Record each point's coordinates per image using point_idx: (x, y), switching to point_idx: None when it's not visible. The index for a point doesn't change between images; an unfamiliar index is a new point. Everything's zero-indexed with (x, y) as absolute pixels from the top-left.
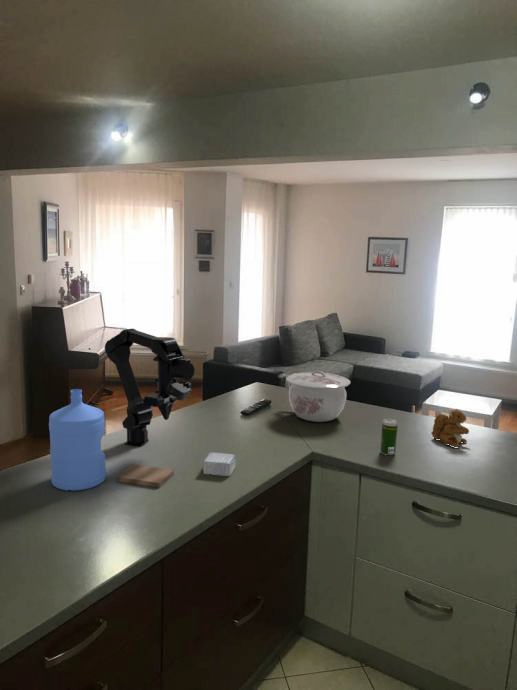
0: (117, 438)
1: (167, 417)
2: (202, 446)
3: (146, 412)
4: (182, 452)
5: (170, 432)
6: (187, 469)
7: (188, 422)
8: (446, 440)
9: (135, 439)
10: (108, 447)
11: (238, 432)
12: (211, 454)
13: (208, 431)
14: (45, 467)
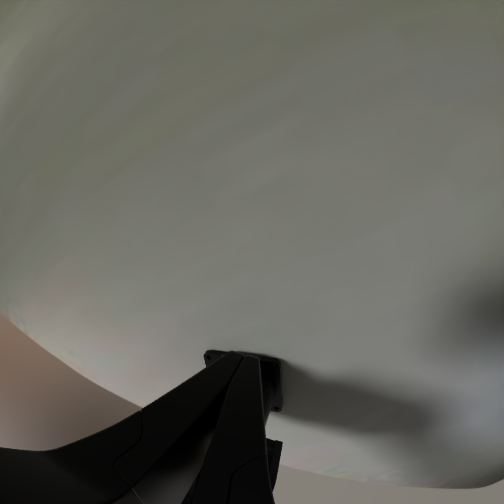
0: None
1: (246, 372)
2: (147, 91)
3: (195, 479)
4: (264, 142)
5: (98, 299)
6: (466, 31)
7: (24, 273)
8: None
9: (269, 396)
10: (324, 433)
11: (6, 75)
12: None
13: (29, 172)
14: (478, 465)
